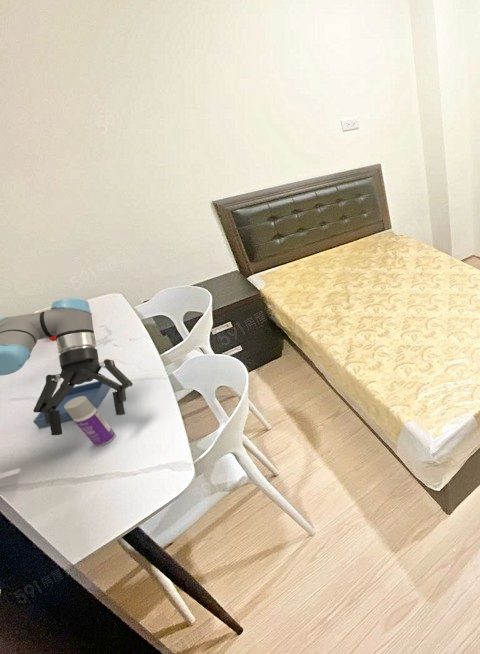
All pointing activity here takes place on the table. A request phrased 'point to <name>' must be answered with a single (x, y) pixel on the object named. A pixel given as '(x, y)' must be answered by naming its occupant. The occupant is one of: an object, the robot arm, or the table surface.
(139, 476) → the table surface
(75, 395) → the tray
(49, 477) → the table surface
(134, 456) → the table surface
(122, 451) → the table surface
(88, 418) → the container
